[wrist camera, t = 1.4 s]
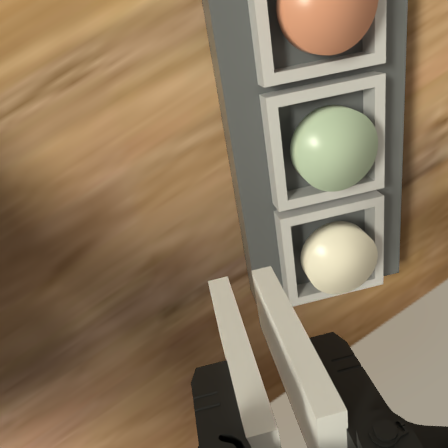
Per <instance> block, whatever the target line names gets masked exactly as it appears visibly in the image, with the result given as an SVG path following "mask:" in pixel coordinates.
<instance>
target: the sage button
mask: <svg viewBox="0 0 448 448" xmlns="http://www.w3.org/2000/svg"><path fill="white" fill-rule="evenodd" d="M377 151H378V136H377V132H376V129H375V127H374V125H373V123H372V122H371V120H370V119H369V118H368V117H367V116H365V115H364V114H362V113H360V112H358V111H356V110H353V109H351V108H348V107H345V106H342V105H326V106H322V107H320V108H317V109H315V110H313V111H312V112H310V113H309V114H308V115H306V116H305V117H304V118H303V119H302V121H301V122H300V123H299V124H298V126H297V127H296V129H295V131H294V133H293V136H292V139H291V144H290V156H291V161H292V164H293V166H294V168H295V170H296V171H297V172H298V173H299V175H300V176H301V177H303V178H304V179H305V180H306V181H307V182H308V183H309V184H310V185H312V186H313V187H315V188H317V189H319V190H322V191H328V192H335V191H341V190H344V189H347V188H349V187H351V186H353V185H355V184H356V183H357V182H359V181H360V180H361V179H362V178H363V177H364V176H365V175H366V174H367V173H368V171H369V170H370V169H371V167H372V165H373V163H374V161H375V158H376V155H377Z"/></svg>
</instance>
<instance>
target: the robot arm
mask: <svg viewBox="0 0 448 448" xmlns="http://www.w3.org/2000/svg"><path fill="white" fill-rule="evenodd" d="M252 277H253V283H254V289H255V295H256V301H257V307H258V314H259V320H260V326H261V329H262V331H263V334H264V336H265V339H266V342H267V344H268V347H269V349H270V352H271V355H272V357H273V360H274V362H275V365H276V367H277V370H278V373H279V375H280V378H281V380H282V383H283V386H284V388H285V391H286V393H287V396H288V398H289V401H290V404H291V406H292V409H293V411H294V414H295V417H296V419H297V422H298V424H299V427H300V430H301V432H302V435H303V437H304V440H305V442H306V445H307V447H308V448H448V427H442V426H424V425H417V424H413V423H410V422H407V421H405V420H404V419H403V418H401V417H400V416H398V415H396V414H395V413H393V412H392V411H391V410H390V408H389V407H388V406H387V404H386V403H385V401H384V400H383V398H382V396H381V395H380V393H379V392H378V391H377V389H376V387H375V386H374V384H373V383H372V381H371V379H370V378H369V376H368V375H367V373H366V372H365V370H364V369H363V367H361V364H360V362H359V361H358V359H357V358H356V357H355V355H354V353H353V351H352V350H351V348H350V347H349V345H348V344H347V342H346V341H345V340H343V339H342V338H341V337H339V336H338V335H336V334H335V333H334V332H331V333H327V334H323V335H319V336H315V337H311V338H309V337H308V335H307V333H306V331H305V329H304V328H303V326H302V324H301V322H300V320H299V318H298V316H297V314H296V312H295V311H294V309H293V307H292V305H291V303H290V301H289V299H288V297H287V295H286V294H285V292H284V290H283V288H282V286H281V284H280V282H279V280H278V278H277V277H276V275H275V273H274V271H273V269H272V267H271V266H269V267H265V268H260V269H256V270H252ZM208 284H209V288H210V293H211V297H212V302H213V306H214V311H215V315H216V320H217V324H218V328H219V333H220V337H221V341H222V346H223V350H224V354H225V358H226V361H222V362H218V363H214V364H210V365H206V366H203V367H199V368H196V370H195V373H194V376H193V379H192V382H191V386H192V394H193V401H194V409H195V417H196V425H197V433H198V441H199V446H198V448H281V443H280V437H279V431H278V427H277V424H276V421H275V418H274V415H273V412H272V409H271V406H270V403H269V400H268V397H267V394H266V391H265V388H264V385H263V382H262V379H261V376H260V373H259V370H258V367H257V364H256V361H255V358H254V355H253V352H252V349H251V345H250V342H249V339H248V336H247V333H246V330H245V327H244V324H243V321H242V318H241V315H240V312H239V309H238V306H237V303H236V300H235V297H234V294H233V291H232V288H231V285H230V282H229V279H228V276H227V277H223V278H219V279H215V280H210V281H208Z"/></svg>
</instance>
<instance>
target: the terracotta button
mask: <svg viewBox="0 0 448 448" xmlns="http://www.w3.org/2000/svg"><path fill="white" fill-rule="evenodd" d="M377 6H378V0H276V13H277V19H278V23H279V26H280V29H281V31H282V33H283V34H284V36H285V38H286V39H287V40H288V41H289V42H290V43H291V44H292V45H293V46H294V47H295V48H297V49H299V50H301V51H303V52H306V53H310V54H317V55H335V54H339V53H342V52H344V51H346V50H348V49H350V48H351V47H353V46H354V45H355V44H357V43H358V42H359V41H360V40H361V39H362V37H363V36H364V35H365V34H366V32H367V31H368V29H369V28H370V26H371V24H372V22H373V19H374V17H375V14H376V11H377Z"/></svg>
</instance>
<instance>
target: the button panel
mask: <svg viewBox="0 0 448 448" xmlns="http://www.w3.org/2000/svg"><path fill="white" fill-rule="evenodd" d="M202 4H203V10H204V15H205V21H206V27H207V33H208V39H209V45H210V51H211V57H212V63H213V69H214V75H215V81H216V87H217V93H218V99H219V104H220V110H221V116H222V122H223V128H224V134H225V140H226V146H227V152H228V158H229V164H230V170H231V176H232V182H233V188H234V193H235V199H236V205H237V211H238V217H239V223H240V229H241V235H242V241H243V247H244V253H245V259H246V265H247V271H248V276H249V282H250V288H251V291H252V294H253V296H254V299H255V301H256V295H255V289H254V283H253V277H252V270H256V269H260V268H265V267H269V266H271V267H272V269H273V271H274V273H275V275H276V277H277V278H278V280H279V282H280V284H281V286H282V288H283V290H284V292H285V294H286V295H287V297H288V299H289V301H290V303H291V305H292V307H293V306H297V305H301V304H305V303H309V302H313V301H317V300H321V299H325V298H329V297H333V296H337V295H341V294H327V293H324V292H322V291H320V290H318V289H317V288H316V287H314V285H313V284H312V283H311V281H310V280H309V278H308V277H307V275H306V274H305V272H304V270H303V269H302V266H301V261H300V256H301V251H302V248H303V245H304V243H305V241H306V240H307V239H308V237H309V236H310V235H311V234H312V233H313V232H314V231H315V230H317V229H318V228H319V227H321V226H323V225H325V224H328V223H331V222H335V221H346V222H351V223H353V224H355V225H357V226H358V227H359V228H361V229H362V230H363V231H364V232H365V233H366V234H367V235H368V236H369V237H370V238H371V239H372V240H373V241H374V243H375V245H376V247H377V251H378V259H377V264H376V266H375V269H374V271H373V273H372V274H371V276H370V277H369V278H368V279H367V280H366V281H365V282H364V283H363V284H362V285H361V286H359V287H358V288H356V289H354V290H352V291H350V292H353V291H357V290H361V289H365V288H369V287H373V286H377V285H381V284H383V276H386V275H390V274H394V273H398V272H399V256H400V225H401V194H402V163H403V133H404V102H405V71H406V40H407V10H408V0H378V6H377V11H376V14H375V17H374V19H373V22H372V24H371V26H370V28H369V29H368V31H367V32H366V34H365V35H364V36H363V37H362V39H361V40H360V41H359V42H358V43H357V44H355V45H354V46H353V47H351V48H350V49H348V50H346V51H344V52H342V53H339V54H335V55H317V54H310V53H306V52H303V51H301V50H299V49H297V48H295V47H294V46H293V45H292V44H291V43H290V42H289V41H288V40H287V39H286V38H285V36H284V34H283V33H282V31H281V29H280V26H279V23H278V19H277V13H276V0H202ZM326 105H342V106H345V107H348V108H351V109H353V110H356V111H358V112H360V113H362V114H364V115H365V116H367V117H368V118H369V119H370V120H371V122H372V123H373V125H374V127H375V129H376V132H377V136H378V151H377V155H376V158H375V161H374V163H373V165H372V167H371V169H370V170H369V171H368V173H367V174H366V175H365V176H364V177H363V178H362V179H361V180H360V181H359V182H357V183H356V184H355V185H353V186H351V187H349V188H347V189H344V190H341V191H335V192H328V191H322V190H319V189H317V188H315V187H313V186H312V185H310V184H309V183H308V182H307V181H306V180H305V179H304V178H303V177H301V176H300V175H299V173H298V172H297V171H296V170H295V168H294V166H293V164H292V161H291V156H290V144H291V139H292V136H293V133H294V131H295V129H296V127H297V126H298V124H299V123H300V122H301V121H302V119H303V118H304V117H305V116H306V115H308V114H309V113H310V112H312V111H313V110H315V109H317V108H320V107H322V106H326ZM347 293H349V292H347ZM343 294H345V293H343ZM256 304H257V301H256Z"/></svg>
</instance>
